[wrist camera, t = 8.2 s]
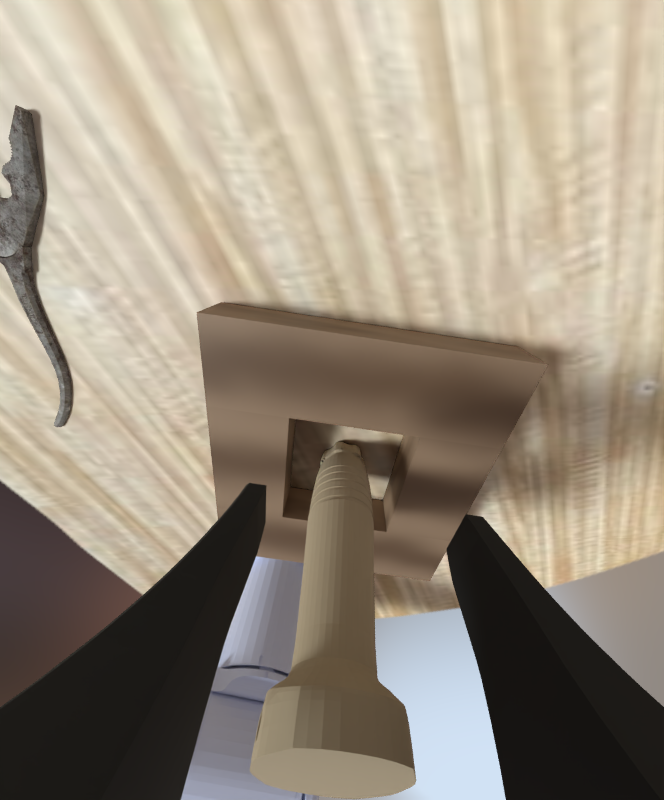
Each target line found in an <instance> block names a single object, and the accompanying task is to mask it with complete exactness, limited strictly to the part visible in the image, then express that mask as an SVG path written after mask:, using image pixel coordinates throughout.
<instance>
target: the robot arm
mask: <svg viewBox="0 0 664 800" xmlns="http://www.w3.org/2000/svg"><path fill="white" fill-rule="evenodd" d="M265 523H266V485H261V484H254V483H248V484H247V485H246V486H245V487H244V489H243V490H242V491H241V493H240V494H239V495H238V497H237V498H236V499H235V500H234V502H233V503H232V504H231V505H230V507H229V508H228V509H227V510H226V511H225V513H224V514H223V515H222V516H221V517H220V518H219V519H218V521H217V522H216V523H215V524H214V525H213V526H212V527H211V528H210V530H209V531H208V532H207V533H206V534H205V535H204V536H203V537H202V538H201V539H200V541H199V542H198V543H197V544H196V545H195V546H194V547H193V548H192V549H191V550H190V551H189V552H188V553H187V554H186V555H185V556H184V557H183V558H182V559H181V560H180V561H179V562H178V563H177V564H176V565H175V566H174V567H173V568H172V569H171V570H170V571H169V572H168V573H167V574H166V575H165V576H163V577H162V578H161V579H160V580H159V581H158V582H157V583H156V584H155V585H154V586H153V587H152V588H150V589H149V590H148V591H147V592H146V593H145V594H144V595H143V596H142V597H140V598H139V599H138V600H137V601H136V602H135V603H134V604H132V605H131V606H130V607H129V608H128V609H127V610H125V611H124V612H123V613H122V614H121V615H119V616H118V617H117V618H116V619H115V620H114V621H112V622H111V623H110V624H109V625H108V626H106V627H105V628H104V629H103V630H101V631H100V632H99V633H98V634H97V635H95V636H94V637H93V638H92V639H90V640H89V641H88V642H86V643H85V644H84V645H83V646H81V647H80V648H79V649H77V650H76V651H75V652H74V653H72V654H71V655H70V656H68V657H67V658H66V659H65V660H63V661H62V662H61V663H59V664H58V665H57V666H56V667H54V668H53V669H52V670H50V671H49V672H48V673H47V674H45V675H44V676H43V677H41V678H40V679H39V680H37V681H36V682H35V683H33V684H32V685H30V686H29V687H28V688H26V689H25V690H24V691H22V692H21V693H19V694H18V695H17V696H16V697H14V698H12V699H11V700H10V701H8V702H7V703H6V704H4V705H3V706H2V707H0V800H319V796H316V795H310V794H304V793H298V792H293V791H288V790H283V789H279V788H276V787H272V786H269V785H266V784H264V783H263V782H261V781H260V780H259V779H257V778H256V777H255V776H253V775H252V774H251V772H250V765H251V758H252V753H253V747H254V742H255V737H256V732H257V727H258V723H259V718H260V714H261V711H262V707H263V704H264V700H265V697H266V694H267V691H268V690H269V689H271V688H272V687H273V686H275V685H276V684H278V683H279V682H281V681H283V680H284V679H286V678H287V677H288V675H289V673H290V671H291V667H292V660H293V654H294V647H295V640H296V632H297V622H298V613H299V604H300V594H301V585H302V575H303V565H304V563H299V562H292V561H285V560H278V559H271V558H264V557H257V556H256V555H257V553H258V549H259V546H260V542H261V538H262V534H263V531H264V527H265ZM447 555H448V561H449V567H450V572H451V577H452V581H453V585H454V588H455V592H456V595H457V598H458V602H459V605H460V608H461V611H462V615H463V618H464V621H465V624H466V628H467V631H468V634H469V637H470V641H471V644H472V646H473V650H474V654H475V657H476V660H477V664H478V667H479V671H480V675H481V679H482V683H483V688H484V692H485V696H486V701H487V706H488V710H489V714H490V719H491V724H492V729H493V734H494V739H495V744H496V749H497V753H498V759H499V764H500V769H501V775H502V780H503V786H504V791H505V797H506V800H664V707H663V706H662V705H661V704H660V703H659V702H657V701H656V700H655V699H654V698H653V697H652V696H651V695H650V694H649V693H647V692H646V691H645V690H644V689H643V688H642V687H641V686H640V685H639V684H638V683H636V682H635V680H633V679H632V678H631V677H630V676H629V675H628V674H627V673H626V672H625V671H624V670H623V669H622V668H621V667H620V666H619V665H618V664H617V663H616V662H615V661H614V660H613V659H612V658H611V657H610V656H609V655H607V654H606V653H605V652H604V651H603V650H602V649H601V648H600V647H599V646H598V645H597V644H596V643H595V642H594V641H593V640H592V639H591V638H590V637H589V636H588V635H587V634H586V633H585V632H584V631H583V630H582V629H581V628H580V627H579V625H578V624H577V623H576V622H575V621H574V620H573V619H572V618H571V617H570V616H569V615H568V614H567V613H566V612H565V611H564V610H563V608H562V607H560V605H559V604H558V603H557V602H556V601H555V600H554V599H553V598H552V597H551V595H550V594H549V593H548V592H547V591H546V590H545V589H544V588H543V587H542V585H541V584H540V583H539V582H538V581H537V580H536V579H535V578H534V576H533V575H532V574H531V573H530V572H529V571H528V570H527V568H526V567H525V566H524V565H523V564H522V563H521V561H520V560H519V559H518V558H517V557H516V556H515V554H514V553H513V552H512V551H511V550H510V548H509V547H508V546H507V545H506V544H505V543H504V541H503V540H502V539H501V538H500V537H499V535H498V534H497V533H496V532H495V531H494V530H493V528H492V527H491V526H490V525H489V524H488V523H487V521H486V520H485V519H484V518H483V517H480V516H473V515H465V516H464V518H463V520H462V522H461V524H460V525H459V527H458V529H457V531H456V533H455V534H454V536H453V538H452V540H451V542H450V543H449V545H448V547H447Z"/></svg>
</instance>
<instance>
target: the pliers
mask: <svg viewBox="0 0 664 800" xmlns="http://www.w3.org/2000/svg"><path fill="white" fill-rule="evenodd" d="M9 140H10V144H11V147H12V149H11V150H12V151H13V152H11V153H12V154H13V155H11V156H12V157H11V160H10V161H9V163H7V164H6V163H5V165H3V169H2V174H3V175H4V177H5V178H6V179H7V181H8V182H9V183H10V186H11V191H12V196H11V197H10V198H8V199H7V198H0V262H1V263H2V264H3V265H4V266H5V268H6V271H7V273H8V275H9V277H10V280H11V282H12V284H13V287H14V289H15V291H16V294H17V296H18V299H19V301H20V303H21V305H22V307H23V309H24V311H25V313H26V315H27V317H28V318H29V320H30V322H31V324H32V326H33V328H34V330H35V332H36V333H37V335H38V337H39V339H40V341H41V342H42V344H43V346H44V348H45V350H46V352H47V354H48V356H49V357H50V360H51V362H52V364H53V366H54V369H55V371H56V374H57V378H58V381H59V388H60V406H59V411H58V414H57V417H56V419H55V422H54V426H55V427H62V426H63V425H64V423H65V422H66V420H67V418H68V415H69V412H70V408H71V398H72V391H71V380H70V376H69V371H68V368H67V365H66V362H65V360H64V357H63V355H62V352H61V350H60V348H59V346H58V343H57V341H56V339H55V337H54V334H53V332H52V330H51V328H50V325H49V323H48V321H47V319H46V317H45V314H44V312H43V309H42V307H41V304H40V302H39V299H38V296H37V293H36V290H35V286H34V280H33V274H32V272H33V270H32V256H31V246H32V243H33V239H34V235H35V231H36V226H37V222H38V218H39V214H40V210H41V206H42V202H43V198H44V192H43V185H42V179H41V172H40V166H39V159H38V153H37V146H36V140H35V133H34V127H33V120H32V114H31V113H30V112H29V111H27V110H26V109H24V108H21V107H19V106H17V105H16V106H15V111H14V115H13V120H12V125H11V130H10V135H9Z"/></svg>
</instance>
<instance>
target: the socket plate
mask: <svg viewBox="0 0 664 800" xmlns="http://www.w3.org/2000/svg"><path fill="white" fill-rule="evenodd" d="M197 320H198V330H199V339H200V349H201V359H202V368H203V378H204V388H205V397H206V407H207V417H208V426H209V436H210V446H211V456H212V465H213V475H214V485H215V494H216V504H217V514H218V519H219V518H220V517H221V516H222V515H223V514H224V513H225V511H226V510H227V509H228V508H229V507H230V505H231V504H232V503H233V502H234V500H235V499H236V498H237V497H238V495H239V494H240V493H241V491H242V490H243V489H244V487H245V486H246V485H247V484H248V483H254V484H261V485H266V523H265V527H264V531H263V534H262V538H261V542H260V546H259V549H258V553H257V555H256V556H257V557H264V558H271V559H278V560H285V561H292V562H299V563H304V555H305V544H306V534H307V524H308V516H309V510H310V505H311V499H312V494H313V490H306V489H299V488H292V487H290V483H291V470H292V458H293V446H294V433H295V421H296V419H299V420H306V421H313V422H320V423H326V424H333V425H340V426H347V427H354V428H361V429H367V430H374V431H381V432H388V433H395V434H402V435H404V436H403V439H402V442H401V445H400V448H399V451H398V454H397V458H396V461H395V464H394V467H393V470H392V473H391V476H390V480H389V483H388V486H387V489H386V492H385V495H384V498H383V501H382V500H375V499H372V510H373V521H374V573H376V574H384V575H391V576H398V577H405V578H412V579H419V580H426V581H430V580H431V578H432V576H433V574H434V572H435V571H436V569H437V567H438V565H439V563H440V561H441V560H442V558H443V556H444V554H445V552H446V551H447V547H448V545H449V543H450V542H451V540H452V538H453V536H454V534H455V533H456V531H457V529H458V527H459V525H460V524H461V522H462V520H463V518H464V516H465V515H466V514H467V512H468V510H469V509H470V507H471V505H472V503H473V501H474V499H475V498H476V496H477V494H478V492H479V490H480V489H481V487H482V485H483V483H484V481H485V479H486V478H487V476H488V474H489V472H490V470H491V469H492V467H493V465H494V463H495V461H496V459H497V458H498V456H499V454H500V452H501V450H502V448H503V447H504V445H505V443H506V441H507V439H508V438H509V436H510V434H511V432H512V430H513V428H514V427H515V425H516V423H517V421H518V419H519V417H520V416H521V414H522V412H523V410H524V408H525V407H526V405H527V403H528V401H529V399H530V397H531V396H532V394H533V392H534V390H535V388H536V386H537V385H538V383H539V381H540V379H541V377H542V376H543V374H544V372H545V370H546V368H547V366H548V364H546V363H544V362H543V361H541V360H539V359H538V358H536V357H534V356H533V355H531V354H529V353H528V352H526V351H524V350H522V349H521V348H519V347H517V346H511V345H504V344H497V343H490V342H484V341H477V340H470V339H464V338H457V337H450V336H443V335H437V334H430V333H423V332H417V331H410V330H403V329H397V328H390V327H383V326H376V325H370V324H363V323H356V322H350V321H343V320H336V319H330V318H323V317H316V316H309V315H303V314H296V313H289V312H283V311H276V310H269V309H262V308H256V307H249V306H242V305H236V304H229V303H222V302H221V303H219V304H216V305H214V306H211V307H209V308H206V309H204V310H202V311H199V312H197Z"/></svg>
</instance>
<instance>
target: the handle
mask: <svg viewBox="0 0 664 800" xmlns="http://www.w3.org/2000/svg"><path fill="white" fill-rule="evenodd" d="M250 772H251V774H252V775H253V776H255V777H256V778H257V779H259V780H260V781H261V782H263V783H264V784H266V785H269V786H272V787H276V788H279V789H283V790H288V791H293V792H298V793H304V794H310V795H316V796H324V797H332V798H345V799H361V798H372V797H380V796H388V795H393V794H396V793H399V792H401V791H403V790H406V789H408V788H410V787H412V786H413V785H414V784H415V782H416V776H415V767H414V759H413V751H412V743H411V737H410V729H409V722H408V717H407V713H406V709H405V706H404V704H402V703H401V702H400V701H399V700H398V699H397V698H396V697H395V696H394V695H393V694H392V693H391V692H390V691H389V690H388V689H387V688H386V687H384V686H383V685H382V684H381V683H380V682H379V681H378V678H377V665H376V650H375V606H374V521H373V510H372V499H371V492H370V485H369V480H368V475H367V472H366V468H365V463H364V460H363V459H362V458H361V452H360V448H359V447H358V446H356V445H348V444H345V443H343V442H337V443H336V444H335V446H334V447H332V448H331V449H329V450H326V451H325V452H324V453H323V456H322V458H321V462H320V469H319V472H318V474H317V478H316V482H315V486H314V490H313V494H312V499H311V505H310V510H309V516H308V524H307V534H306V544H305V555H304V565H303V575H302V585H301V594H300V604H299V613H298V622H297V632H296V640H295V647H294V654H293V660H292V667H291V671H290V673H289V675H288V677H287V678H286V679H284V680H283V681H281V682H279V683H278V684H276V685H275V686H273V687H272V688H271V689H269V690H268V691H267V694H266V697H265V700H264V704H263V707H262V711H261V714H260V718H259V723H258V727H257V732H256V737H255V742H254V747H253V753H252V758H251V765H250Z"/></svg>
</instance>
